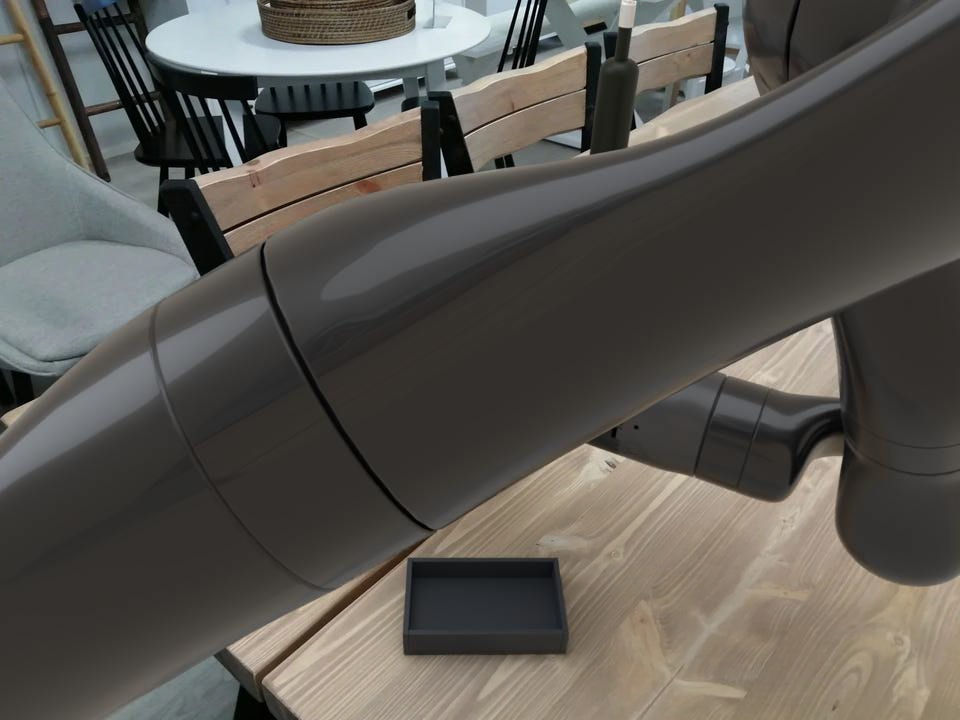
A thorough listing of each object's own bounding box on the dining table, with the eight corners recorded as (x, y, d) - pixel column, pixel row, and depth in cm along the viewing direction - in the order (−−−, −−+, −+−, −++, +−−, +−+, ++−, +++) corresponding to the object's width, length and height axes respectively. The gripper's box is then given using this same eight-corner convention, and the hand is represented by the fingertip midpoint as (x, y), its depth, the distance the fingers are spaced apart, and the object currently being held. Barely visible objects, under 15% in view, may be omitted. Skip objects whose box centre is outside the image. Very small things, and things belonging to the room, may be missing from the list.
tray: (403, 655, 53) (402, 634, 52) (408, 577, 59) (407, 557, 58) (565, 654, 54) (569, 633, 53) (555, 577, 59) (558, 557, 58)
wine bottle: (587, 191, 124) (612, -5, 107) (621, 196, 123) (652, -2, 105) (580, 204, 120) (605, 1, 102) (616, 210, 118) (647, 5, 101)
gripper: (682, 308, 53) (475, 252, 59) (615, 421, 42) (371, 339, 48) (663, 391, 57) (473, 331, 63) (598, 513, 46) (377, 427, 52)
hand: (430, 335), depth 56 cm, fingers closed on cup, 6 cm apart
